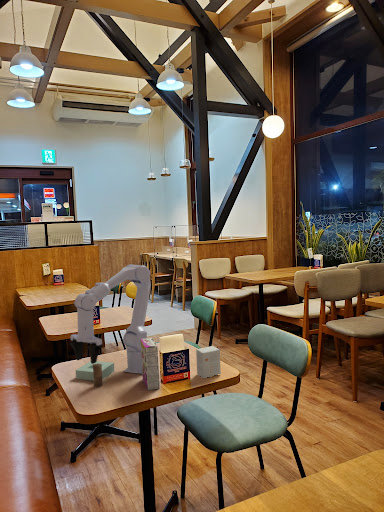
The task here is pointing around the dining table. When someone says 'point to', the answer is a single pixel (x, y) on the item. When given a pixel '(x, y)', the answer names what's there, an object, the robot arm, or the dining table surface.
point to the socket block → (87, 370)
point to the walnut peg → (97, 375)
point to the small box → (208, 361)
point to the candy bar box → (150, 363)
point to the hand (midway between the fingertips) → (86, 361)
